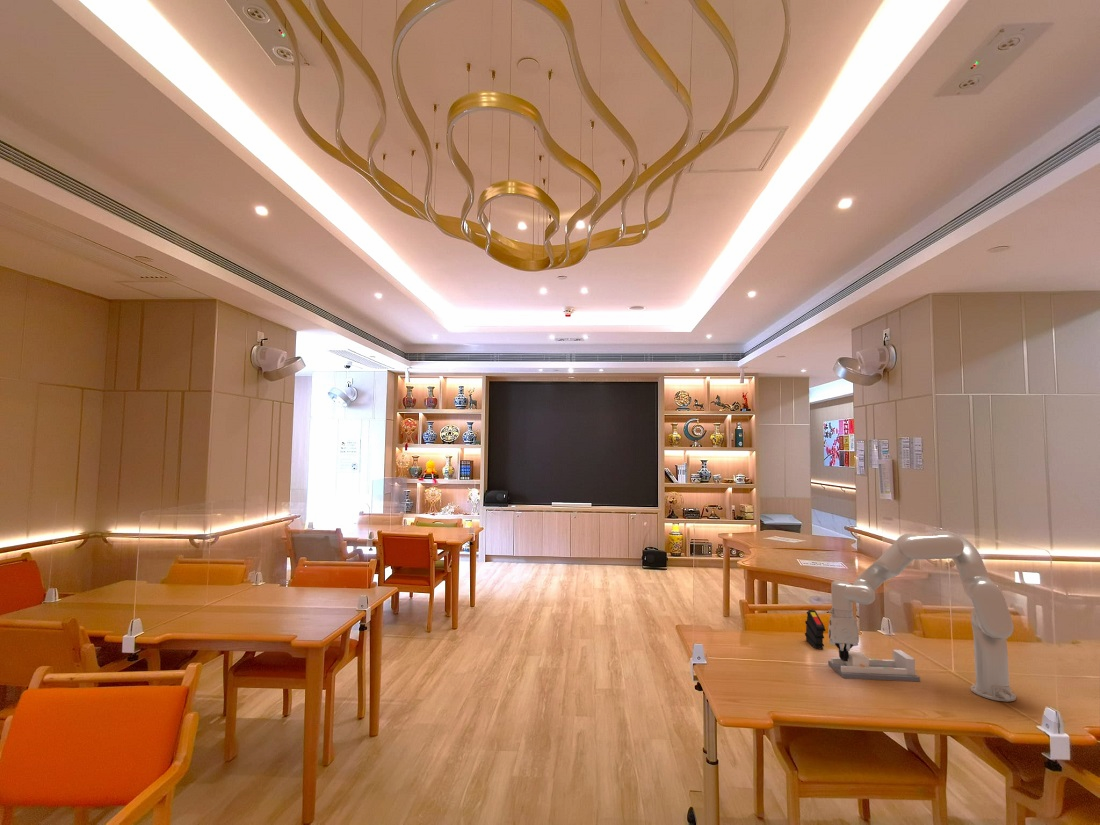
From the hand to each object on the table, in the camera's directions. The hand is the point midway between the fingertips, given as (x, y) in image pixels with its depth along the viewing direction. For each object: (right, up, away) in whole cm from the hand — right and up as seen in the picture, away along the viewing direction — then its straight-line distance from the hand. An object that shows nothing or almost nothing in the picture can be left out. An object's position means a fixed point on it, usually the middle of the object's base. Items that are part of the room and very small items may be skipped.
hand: (844, 660), depth 218 cm
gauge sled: (+5, -3, -1) cm, 6 cm away
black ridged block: (+2, -7, +29) cm, 29 cm away
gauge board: (+11, -4, -1) cm, 11 cm away
